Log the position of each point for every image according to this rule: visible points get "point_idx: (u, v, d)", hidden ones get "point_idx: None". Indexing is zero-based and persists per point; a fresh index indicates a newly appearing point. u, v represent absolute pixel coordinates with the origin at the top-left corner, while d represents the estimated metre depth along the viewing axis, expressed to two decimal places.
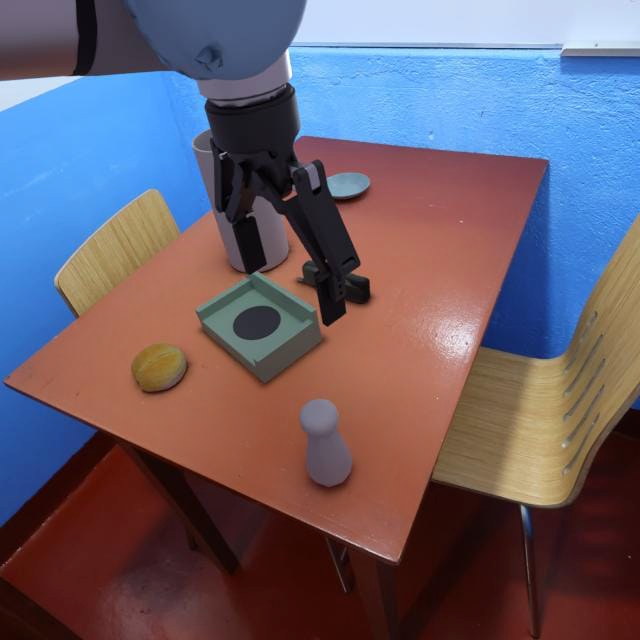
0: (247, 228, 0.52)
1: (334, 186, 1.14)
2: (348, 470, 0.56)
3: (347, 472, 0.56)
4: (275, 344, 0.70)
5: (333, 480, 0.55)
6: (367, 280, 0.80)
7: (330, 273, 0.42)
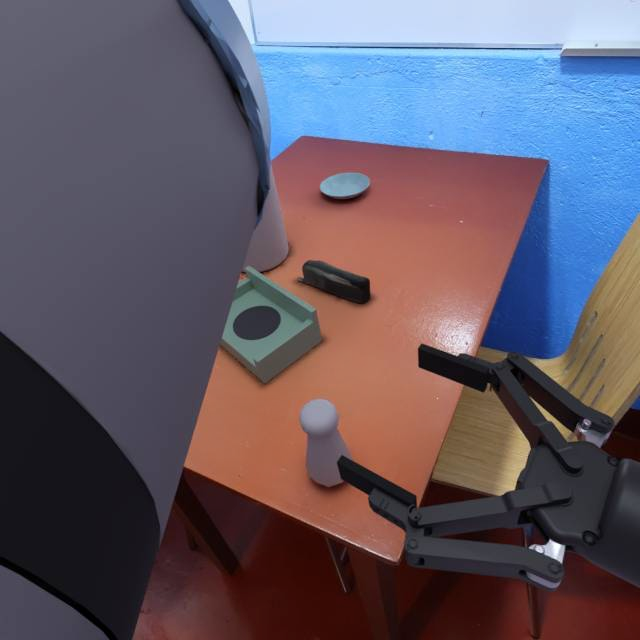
0: (476, 380, 0.42)
1: (334, 186, 1.14)
2: None
3: None
4: (275, 344, 0.70)
5: (333, 480, 0.55)
6: (367, 280, 0.80)
7: (411, 525, 0.33)
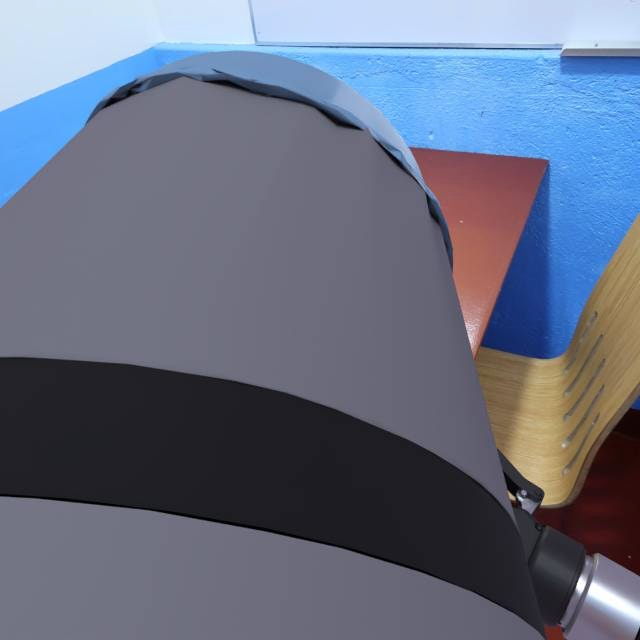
0: None
1: None
2: None
3: None
4: None
5: None
6: None
7: None
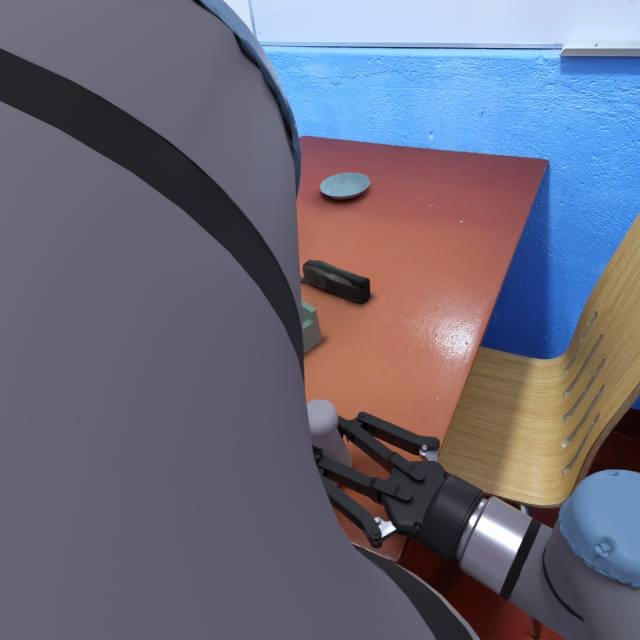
0: None
1: (334, 186, 1.14)
2: None
3: None
4: None
5: None
6: (367, 280, 0.80)
7: (315, 462, 0.52)
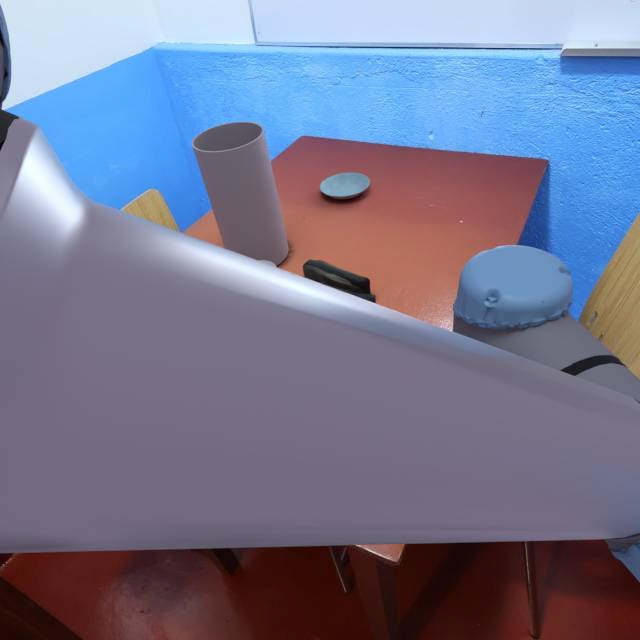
0: None
1: (334, 186, 1.14)
2: None
3: None
4: None
5: None
6: (367, 280, 0.80)
7: None
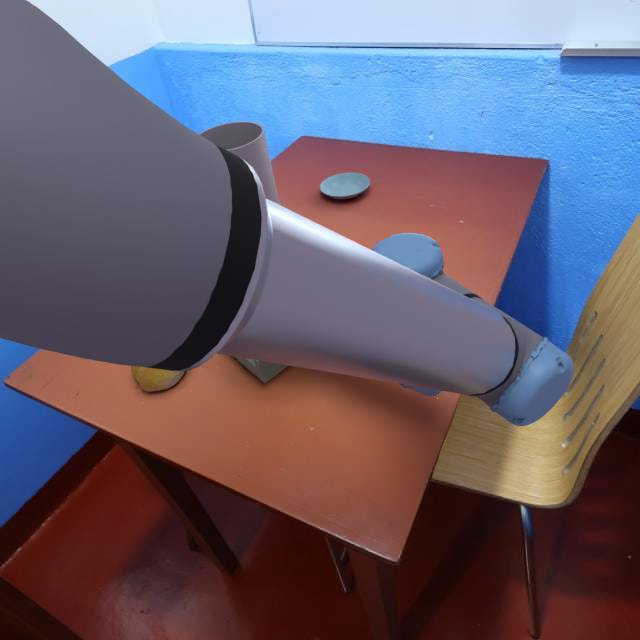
0: None
1: (334, 186, 1.14)
2: None
3: None
4: None
5: None
6: None
7: None
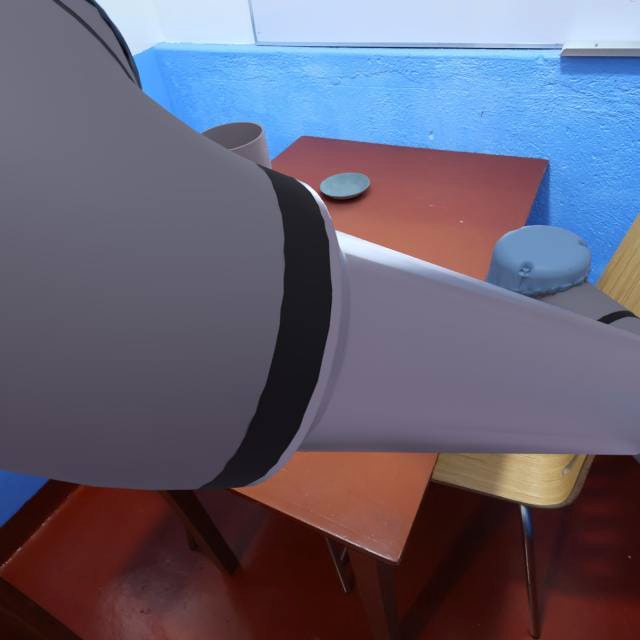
0: None
1: (334, 186, 1.14)
2: None
3: None
4: None
5: None
6: None
7: None
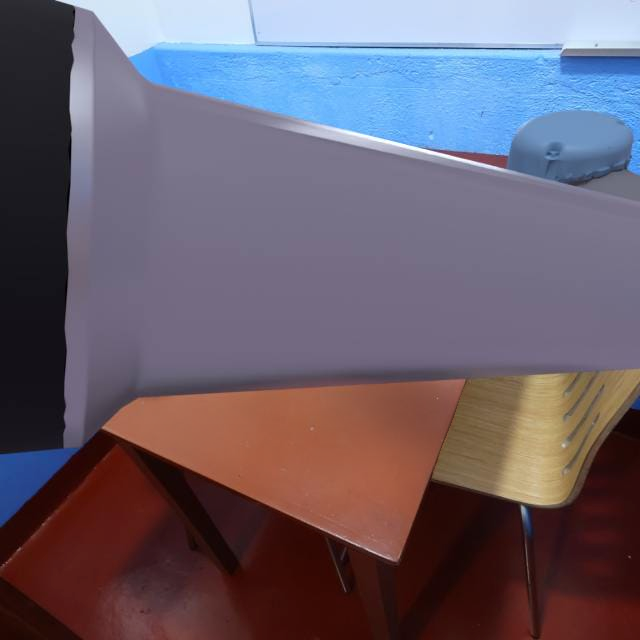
0: None
1: None
2: None
3: None
4: None
5: None
6: None
7: None
